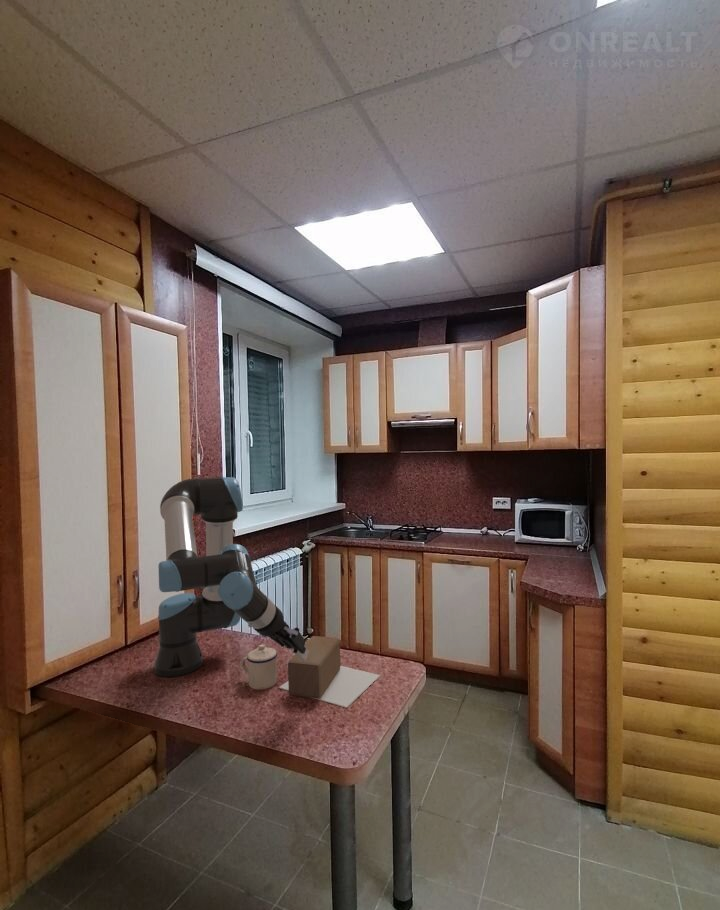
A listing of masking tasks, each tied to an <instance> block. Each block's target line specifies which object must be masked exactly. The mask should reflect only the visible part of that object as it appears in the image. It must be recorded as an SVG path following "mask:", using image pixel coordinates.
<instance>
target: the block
mask: <svg viewBox="0 0 720 910" xmlns="http://www.w3.org/2000/svg"><path fill="white" fill-rule="evenodd" d="M304 646H305V647H306V648H307V649H308V650H309V651H310V652H309V654H308V657H307V659H306V661H305V660H301V659H300V658H299V657H298V656H297V655H296V654H295V653H294V655H293V656H292V657H291V658H290V659H289V661H288V662H287V672H288V673H287V678H288V679H287V681H288V683H289V691H288V694H289V695H291V696H298V697H305V698H311V697H312V698H311V699H314V698H319V697H321V695H322V694H323V692H324V691H325V689H326V688H327V686H328V685H329V683H330V682H331V680H332V679H333V677H334V676H335V674H336V673H337V671H338V670H339V668H340V666H342V664H341V640H340V638H338V637H331V636H330V637H329V636H318V635H313V636H311V637H310V638H309V639H308V640H307V641H306V642H305V645H304Z"/></svg>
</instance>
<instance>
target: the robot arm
mask: <svg viewBox="0 0 720 910" xmlns="http://www.w3.org/2000/svg"><path fill="white" fill-rule="evenodd" d="M243 507H244V505H243V495H242V490H241V487H240V484H239V481H238V479H236V478H235V477H234V476H232V477H231V476H230V477H229V476H228V477H226V476H219V477H217V476H216V477H203V478H202V477H201V478H187V479H183V480H181V481H179V482H177V483H176V484H174V485H173V486H171V487H170V488H169V489H168V490H167V491H166V492H165V493H164V495H163V497H162V498H161V501H160V505H159V511H160V516H161V518H162V519H163V520H164V538H165V541H164V542H165V557H166V558H165V559H166V560H162V561H160V562H159V563H158V589H159V591H160V592H161V593H172V592H175V593H179V592H182V591H190V590H194V589H201V588H202V593H201V596H196V594H195V593H193V592H183V593H179V594H176V595H175V594H174V595H173V596H170V597H168V598H166V599H164V600H162V601H161V602H160V604H159V606H158V614H157V619H158V636H159V637H158V638H159V639H158V643H159V647H158V652H157V654H156V660H155V661H154V665H153V667H154V673H155V674H156V675H157V676H159V677H164V678H173V677H180V676H185V675H187V674H190V673H192V672H195V671H196V670H197V669H199V668H201V666H203V664H204V659H203V658H204V657H203V652H202V650H201V648H200V645H199V643H198V640H197V634H198V633H204V632H209V631H214V630H221V629H228V628H230V627H235V626H237V625H238V624H239V623H240V621H241V619H242V620H243V621H244V622H245V623H247V624H248V625H247V627H248V628H252V629H253V630H254V631H255V632H256V633H258V634H259V635H260V636H262V637H268V638H269V639H271V640H272V641H274V642H275V643H276V644H278V645H280V647H283V648H284V647H285V648H287V649H289V650H290V651H292V653H294V655H295V654H296V655H297V656H298V657H299V658H300V659H301V660H305V661H306V659H307V657H308V654H309V652H310V651H309V650H308V649H307V648H306V647H305V646H304V645H305V643H306V642H307V641H306V640H305V638H304V637H303V636H302V634H301V632H300V628H298V627H293V628H291V627H290V625H289V624H288V623H287V622H286V621H285V620H284V614H283V611H281V609H280V608H279V607H278V606H276V604H275V603H274V602H273V601H272V600H271V599H270V598H269V597H268V596H267V595H266V594H264V592H263V591H262V590H261V589H260V588H259V587H258V585H257V580H256V577H255V575H254V570H253V565H252V559H251V557H250V555H249V552H248V550H247V549H246V547H245V546H243V545H241V544H237V543H234V542H233V541H234V540H233V539H234V525H233V524H234V521H236V520H237V519H238V517H239V516H238V514H239V513H240V512H243ZM194 515H195V516H196V515H200V520H201V521H203V522H204V523H205V536H206V537H205V543H206V544H205V545H206V546H205V547H206V548H205V550H206V551H205V552H206V554H205V555H206V556H205V555H204V556H198V550H197V544H196V543H197V542H196V535H195V527H194V522H193V516H194Z"/></svg>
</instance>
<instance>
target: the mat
mask: <svg viewBox="0 0 720 910" xmlns="http://www.w3.org/2000/svg"><path fill="white" fill-rule="evenodd" d="M380 677H381V675H380V674H376V673H373V672H368V671H365V670H360V669H356V668H351V667H347V666H344V665H341V666H340V668H339V670H338V671H337V673H336V674H335V676H334V677H333V679H332V680H331V682H330V683H329V685H328V686H327V688H326V689H325V691H324V692H323V694H322V695H321V697H319V698H312V697H310V698H311V699H314V700H318V701H321V702H324V703H327V704H328V703H329V704H332V705H335V706H338V707H342V708H345V709H348V708H349V707H350V706H351V705H352V704H354V702H355V701H356V700H358V698H360V697H361V695H363V694H364V693H365V692H366V691H367V690H368V689H369V688H370V687H371V686H372V685H373V684H374V683H375V682H377V681H378V679H379V678H380ZM374 681H375V682H374ZM373 682H374V683H373ZM370 685H371V686H370ZM369 686H370V687H369ZM278 689H281V690H284V691H288V692H289V683H288V680H287V681H285V682H284V683H283V684H281V685H280V686H278ZM366 689H367V690H366Z"/></svg>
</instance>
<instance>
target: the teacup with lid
mask: <svg viewBox="0 0 720 910" xmlns="http://www.w3.org/2000/svg"><path fill="white" fill-rule="evenodd" d="M277 657H278V652H277V650H276V649H274V648H272V647H267V646H266V645H265V644H259V645H258V646H257V648H255V649H253V650H251V651H250V652H249V653H247V656H246V657H243V658H242V660H241V662H240V665H241V669H242V671H244V672H245V674H248V677H247V678H248V680H247V681H248V686H249V687H250V688H251V689H252V690H256V691H258V690H267V689H270V688H272V687H274V686H275V685H276V683H277V682H278V672H277V671H278V668H277V667H278V665H277V664H278V663H277ZM246 661H247V666H246Z"/></svg>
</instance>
